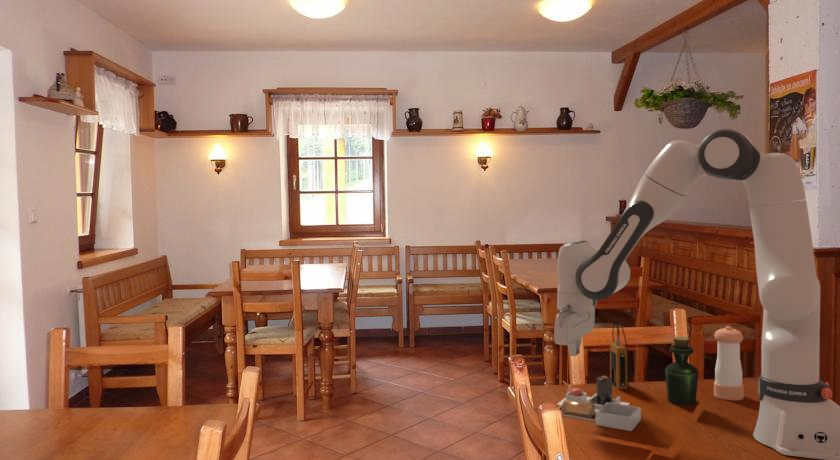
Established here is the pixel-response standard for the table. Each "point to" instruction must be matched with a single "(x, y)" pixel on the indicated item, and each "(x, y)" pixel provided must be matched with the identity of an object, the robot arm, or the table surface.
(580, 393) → the button
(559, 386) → the table surface
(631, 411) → the grey square open box
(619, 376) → the multimeter
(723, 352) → the pepper shaker
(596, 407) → the battery tester
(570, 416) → the trough
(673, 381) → the potion bottle
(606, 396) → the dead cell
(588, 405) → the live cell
